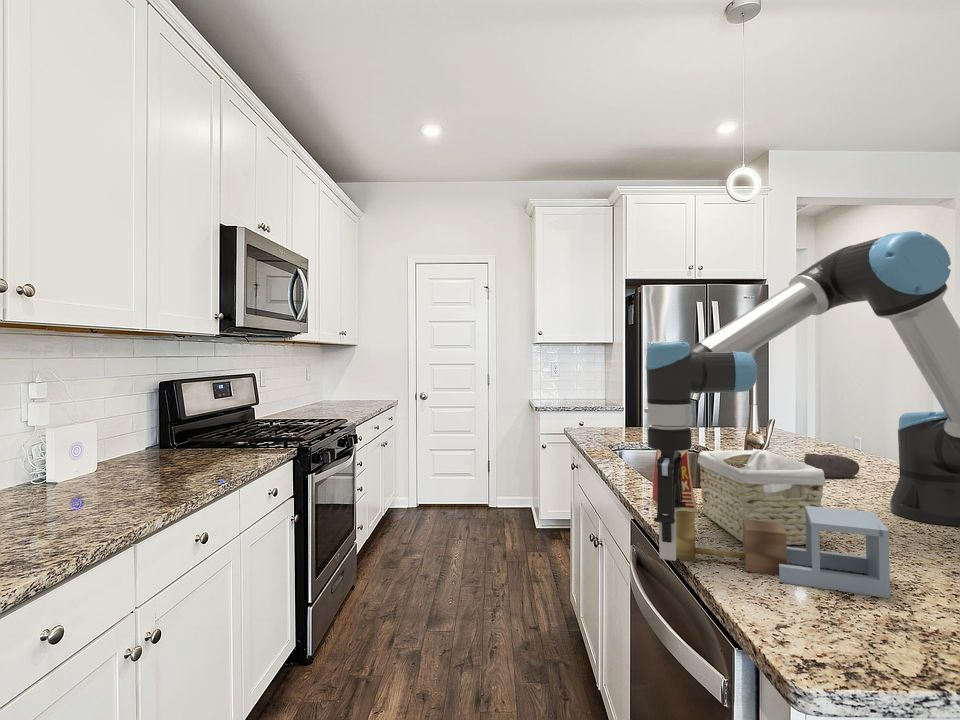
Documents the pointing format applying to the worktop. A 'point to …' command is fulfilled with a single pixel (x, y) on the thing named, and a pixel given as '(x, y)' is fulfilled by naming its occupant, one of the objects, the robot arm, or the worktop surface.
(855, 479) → the worktop surface
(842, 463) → the perforated stone tool
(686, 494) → the milk carton
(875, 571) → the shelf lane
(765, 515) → the storage basket
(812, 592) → the worktop surface
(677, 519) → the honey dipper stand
